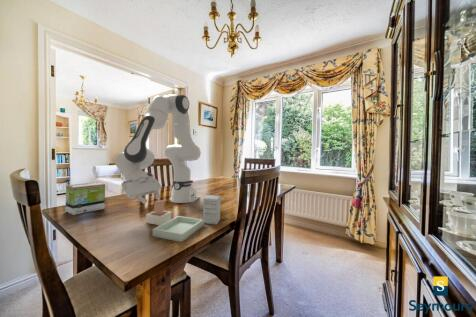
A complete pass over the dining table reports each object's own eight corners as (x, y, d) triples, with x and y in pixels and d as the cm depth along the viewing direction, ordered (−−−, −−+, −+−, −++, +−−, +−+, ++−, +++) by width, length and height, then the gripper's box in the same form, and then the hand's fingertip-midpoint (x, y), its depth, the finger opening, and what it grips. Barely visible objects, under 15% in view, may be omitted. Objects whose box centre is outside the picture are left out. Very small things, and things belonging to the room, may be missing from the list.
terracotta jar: (158, 219, 102) (158, 199, 101) (165, 220, 100) (165, 200, 100) (152, 221, 97) (152, 201, 97) (159, 223, 96) (160, 202, 96)
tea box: (73, 215, 102) (74, 187, 101) (65, 212, 107) (65, 184, 106) (105, 208, 115) (105, 183, 114) (96, 205, 120) (96, 181, 119)
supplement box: (206, 218, 105) (207, 194, 105) (220, 219, 104) (221, 195, 104) (202, 223, 98) (203, 197, 98) (216, 224, 97) (217, 199, 97)
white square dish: (157, 217, 104) (157, 209, 104) (171, 219, 102) (171, 211, 101) (145, 222, 96) (145, 214, 96) (160, 225, 94) (160, 216, 93)
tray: (178, 221, 99) (178, 215, 99) (203, 225, 95) (203, 219, 95) (152, 236, 82) (152, 229, 82) (182, 242, 78) (182, 234, 78)
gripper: (123, 177, 91) (140, 201, 89) (154, 173, 111) (169, 192, 108) (115, 186, 93) (132, 209, 90) (148, 180, 112) (162, 199, 110)
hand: (152, 200), depth 99 cm, fingers open, 8 cm apart
